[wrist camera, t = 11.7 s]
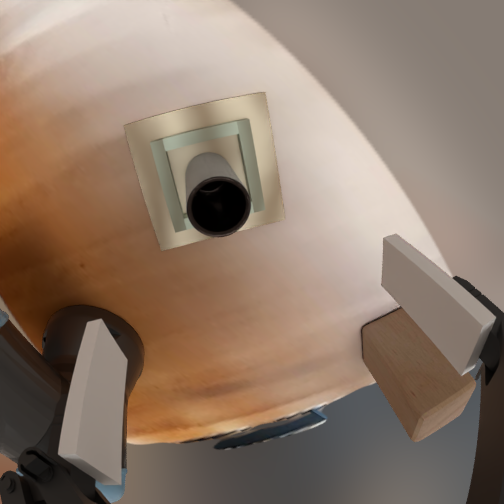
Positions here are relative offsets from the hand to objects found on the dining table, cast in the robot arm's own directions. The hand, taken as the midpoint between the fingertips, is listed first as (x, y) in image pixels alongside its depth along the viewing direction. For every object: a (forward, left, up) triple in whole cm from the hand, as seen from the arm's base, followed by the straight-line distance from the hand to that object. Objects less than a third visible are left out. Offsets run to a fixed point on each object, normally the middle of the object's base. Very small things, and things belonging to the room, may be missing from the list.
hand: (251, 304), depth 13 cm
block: (+23, -32, -21) cm, 45 cm away
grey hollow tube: (0, +1, -20) cm, 20 cm away
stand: (0, +1, -21) cm, 21 cm away
